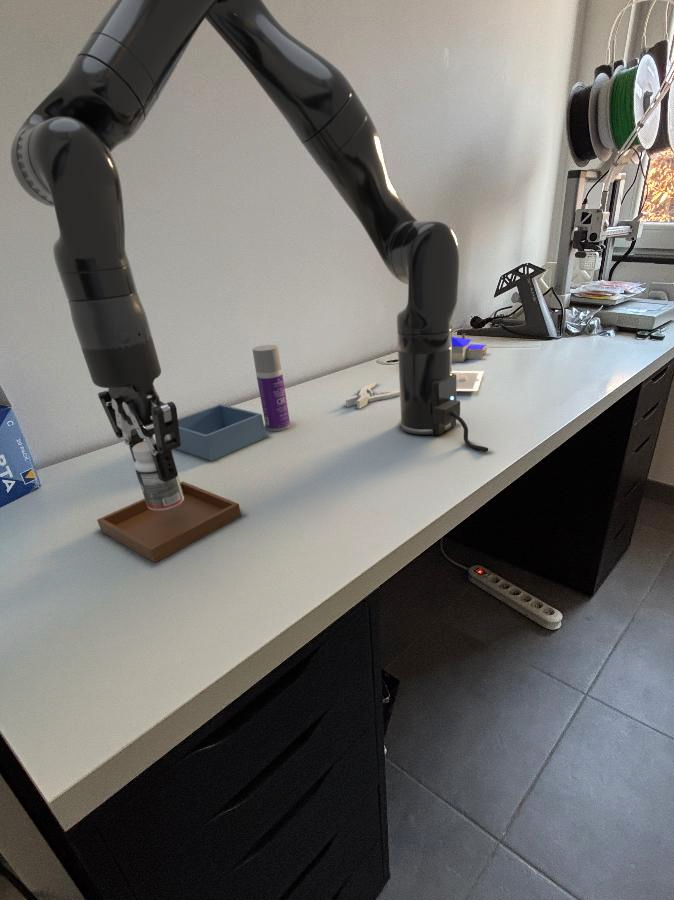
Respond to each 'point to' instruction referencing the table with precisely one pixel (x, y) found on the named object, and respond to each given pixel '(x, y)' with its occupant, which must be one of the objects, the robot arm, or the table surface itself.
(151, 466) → the pill bottle
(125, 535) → the tray
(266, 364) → the container
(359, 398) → the pliers
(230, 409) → the storage box
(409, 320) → the robot arm
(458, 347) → the house
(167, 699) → the table surface
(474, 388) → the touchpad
